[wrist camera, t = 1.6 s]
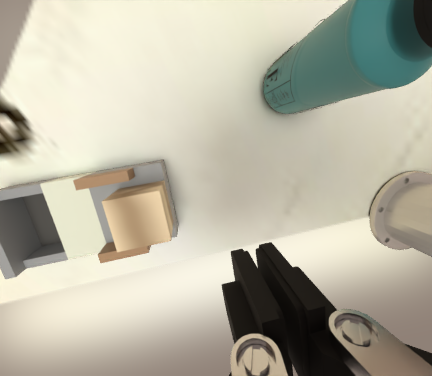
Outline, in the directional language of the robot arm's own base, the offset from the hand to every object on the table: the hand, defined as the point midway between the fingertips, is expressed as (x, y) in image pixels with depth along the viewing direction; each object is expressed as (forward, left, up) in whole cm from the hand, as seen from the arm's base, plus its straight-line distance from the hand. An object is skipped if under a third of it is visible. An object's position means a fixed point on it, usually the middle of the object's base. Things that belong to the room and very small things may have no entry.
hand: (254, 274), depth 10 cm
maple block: (+7, +2, -16) cm, 17 cm away
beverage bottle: (-8, -13, -19) cm, 25 cm away
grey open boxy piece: (+13, +4, -19) cm, 24 cm away
